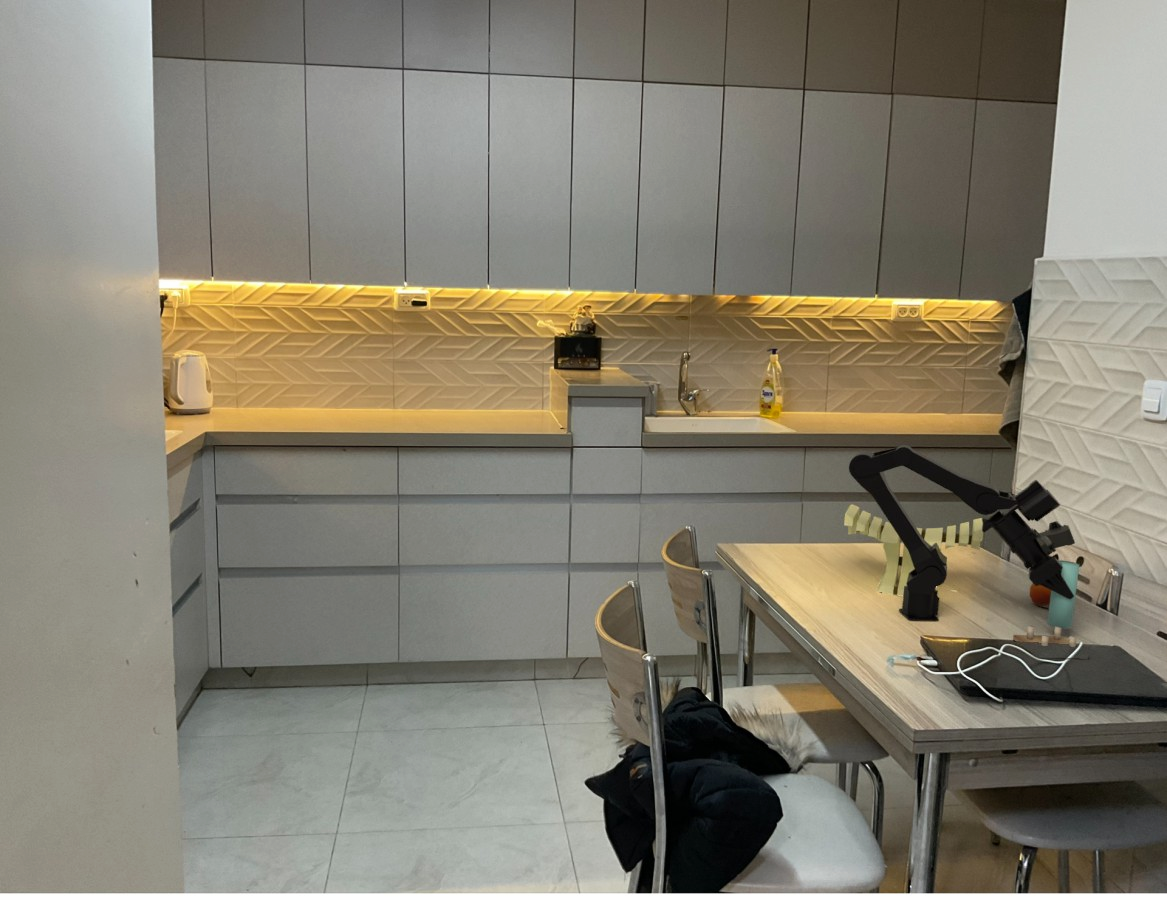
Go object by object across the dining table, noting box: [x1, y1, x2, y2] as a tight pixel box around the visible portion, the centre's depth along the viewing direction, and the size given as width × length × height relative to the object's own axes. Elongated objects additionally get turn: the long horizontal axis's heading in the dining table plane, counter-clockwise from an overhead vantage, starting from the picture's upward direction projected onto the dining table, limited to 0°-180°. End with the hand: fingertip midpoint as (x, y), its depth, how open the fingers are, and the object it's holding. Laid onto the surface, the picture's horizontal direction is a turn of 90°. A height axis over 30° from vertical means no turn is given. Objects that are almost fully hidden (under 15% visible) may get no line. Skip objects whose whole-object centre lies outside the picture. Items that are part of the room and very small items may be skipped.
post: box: [1047, 560, 1080, 629], centre depth 199 cm, size 4×4×13 cm
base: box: [1012, 625, 1077, 647], centre depth 192 cm, size 10×10×4 cm
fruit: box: [1029, 583, 1051, 610], centre depth 220 cm, size 8×8×8 cm
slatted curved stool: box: [843, 504, 984, 596], centre depth 230 cm, size 30×16×18 cm, turn 69°
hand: (1070, 594), depth 198 cm, fingers closed on post, 4 cm apart
